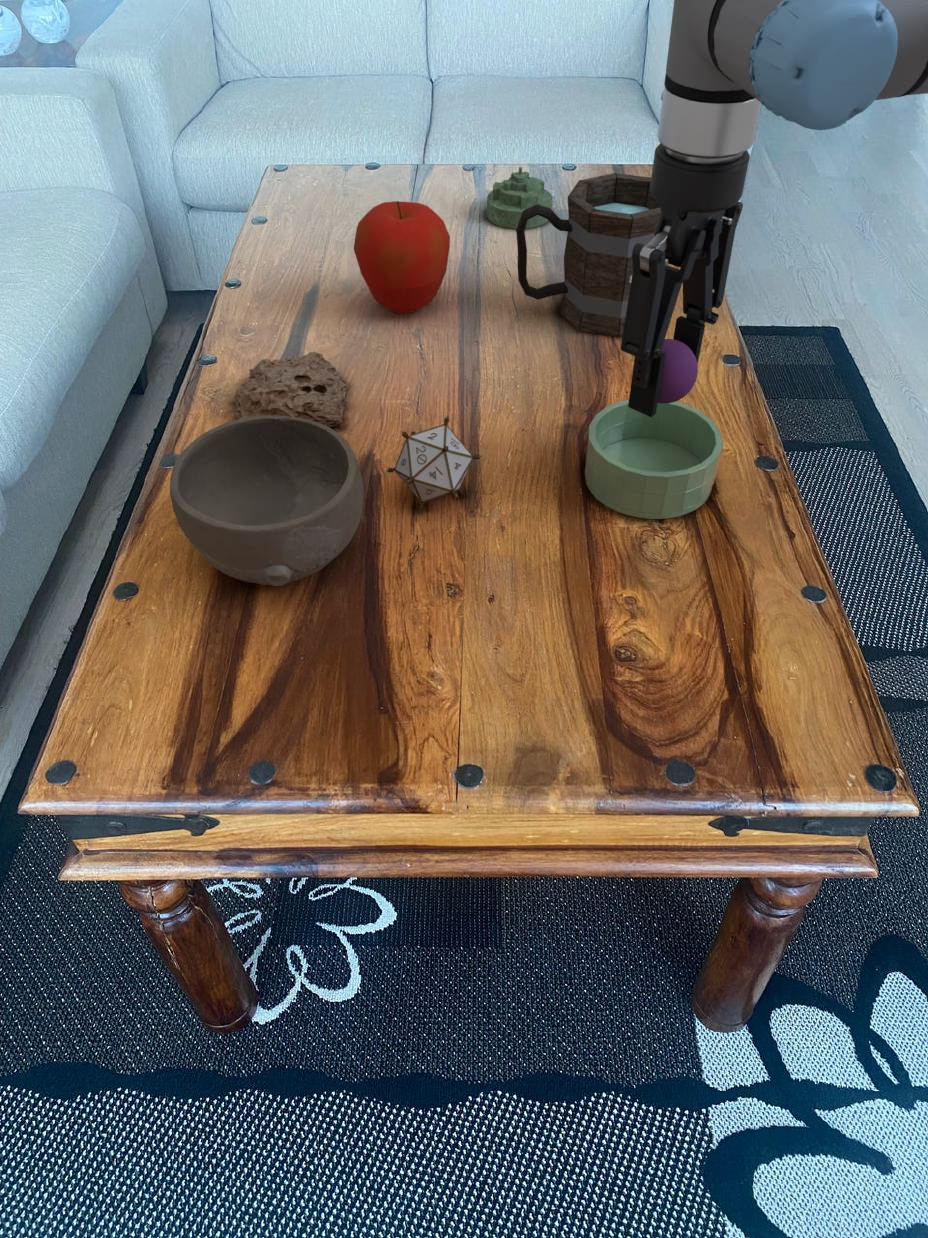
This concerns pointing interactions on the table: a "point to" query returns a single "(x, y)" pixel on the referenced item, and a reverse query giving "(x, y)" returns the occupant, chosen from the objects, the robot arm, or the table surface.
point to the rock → (294, 390)
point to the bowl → (268, 497)
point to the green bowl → (652, 459)
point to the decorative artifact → (517, 200)
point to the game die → (433, 463)
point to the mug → (596, 249)
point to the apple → (402, 254)
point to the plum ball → (677, 371)
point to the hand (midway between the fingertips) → (661, 395)
